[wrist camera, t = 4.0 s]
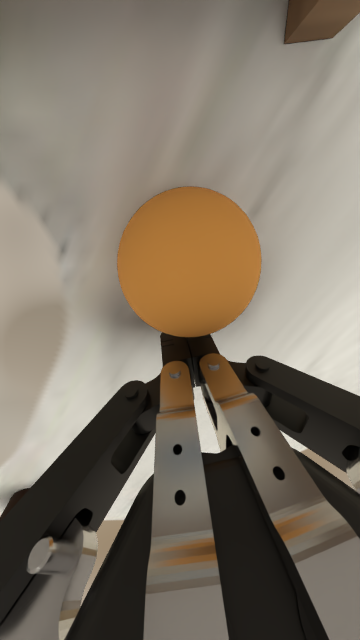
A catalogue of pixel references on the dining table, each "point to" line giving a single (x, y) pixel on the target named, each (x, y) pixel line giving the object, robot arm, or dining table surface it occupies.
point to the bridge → (318, 18)
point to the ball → (189, 261)
